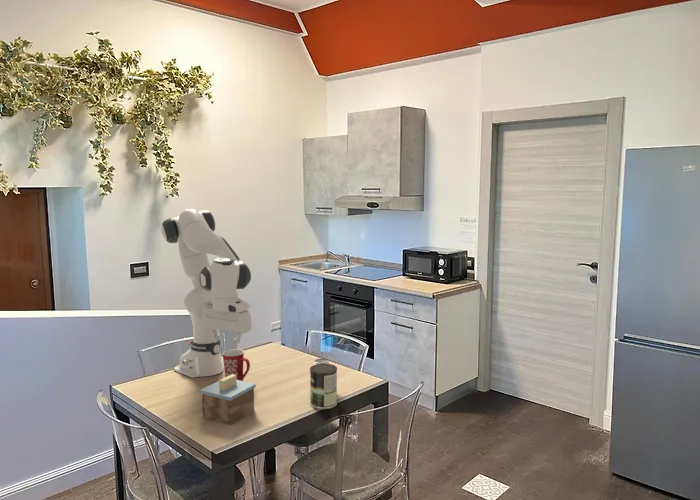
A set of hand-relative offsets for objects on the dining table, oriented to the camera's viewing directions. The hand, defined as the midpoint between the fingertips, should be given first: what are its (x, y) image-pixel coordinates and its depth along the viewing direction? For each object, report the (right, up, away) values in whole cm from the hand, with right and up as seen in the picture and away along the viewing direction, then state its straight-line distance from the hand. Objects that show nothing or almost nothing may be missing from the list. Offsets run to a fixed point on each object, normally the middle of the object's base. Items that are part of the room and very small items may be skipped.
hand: (226, 341), depth 189 cm
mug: (-3, -24, +32) cm, 40 cm away
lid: (0, -19, +2) cm, 19 cm away
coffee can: (+34, -26, +12) cm, 45 cm away
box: (0, -27, +3) cm, 27 cm away
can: (+33, -24, +27) cm, 49 cm away
